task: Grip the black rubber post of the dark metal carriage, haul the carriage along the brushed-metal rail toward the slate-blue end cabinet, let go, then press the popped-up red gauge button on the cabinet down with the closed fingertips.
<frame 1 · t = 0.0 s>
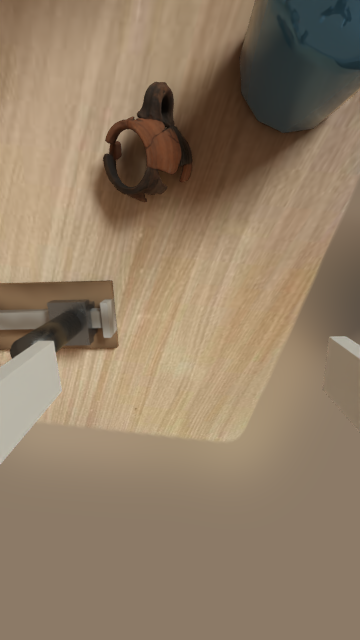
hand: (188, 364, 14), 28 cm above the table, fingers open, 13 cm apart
rail base: (30, 315, 43), on the table
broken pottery: (155, 155, 36), on the table
carriage: (57, 332, 35), point 8 cm above the table, slide at 0.0 cm
wine bottle: (294, 71, 33), on the table
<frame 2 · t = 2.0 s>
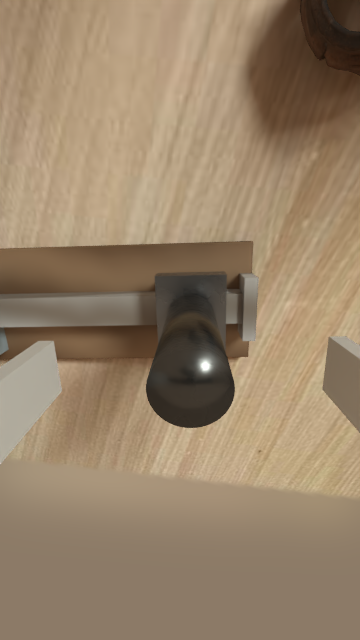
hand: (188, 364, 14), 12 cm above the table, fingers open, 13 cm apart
rail base: (102, 302, 26), on the table
carriage: (191, 331, 17), point 8 cm above the table, slide at 0.0 cm
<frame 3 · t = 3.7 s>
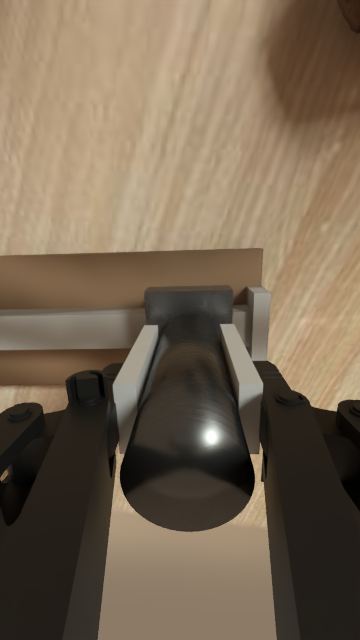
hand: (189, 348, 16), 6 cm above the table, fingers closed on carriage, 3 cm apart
rail base: (86, 319, 22), on the table
carriage: (188, 364, 14), point 8 cm above the table, slide at 0.0 cm, touching gripper
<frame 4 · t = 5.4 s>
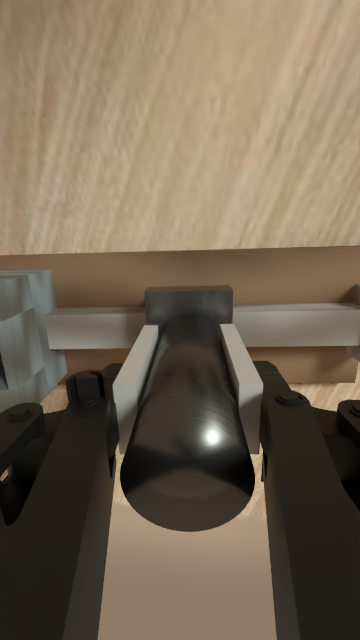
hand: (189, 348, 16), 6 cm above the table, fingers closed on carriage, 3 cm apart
rail base: (181, 318, 22), on the table
carriage: (189, 364, 14), point 8 cm above the table, slide at 7.4 cm, touching gripper
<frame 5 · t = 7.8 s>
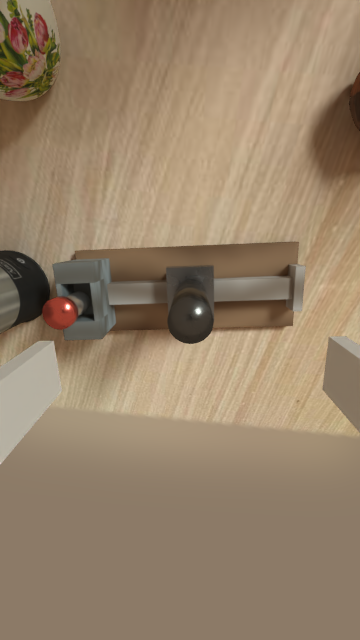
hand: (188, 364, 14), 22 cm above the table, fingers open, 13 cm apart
pitcher: (32, 52, 29), on the table
rail base: (186, 287, 35), on the table
gauge button: (69, 307, 27), point 9 cm above the table, slide at 0.0 cm
carriage: (190, 301, 27), point 8 cm above the table, slide at 7.5 cm
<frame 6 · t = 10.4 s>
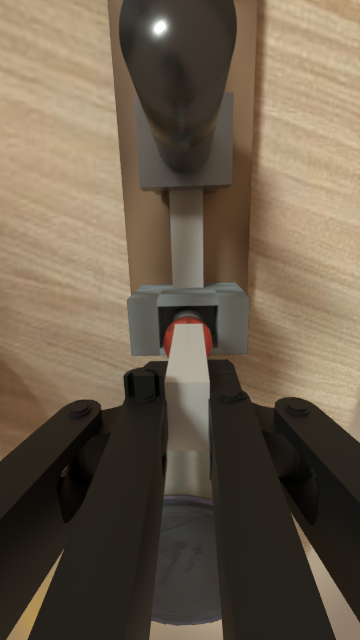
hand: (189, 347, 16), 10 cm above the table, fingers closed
rail base: (185, 169, 23), on the table
gauge button: (188, 330, 19), point 8 cm above the table, slide at -1.4 cm, touching gripper
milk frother: (206, 433, 30), on the table
carriage: (183, 122, 15), point 8 cm above the table, slide at 7.5 cm
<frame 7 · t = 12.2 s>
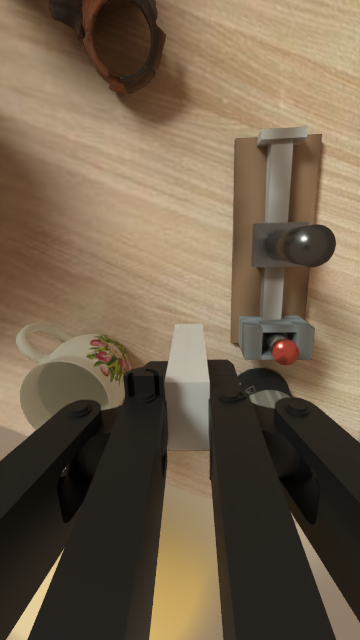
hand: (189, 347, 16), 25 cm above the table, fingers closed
pitcher: (99, 352, 44), on the table
rail base: (270, 248, 38), on the table
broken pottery: (118, 48, 33), on the table
gauge button: (279, 345, 34), point 7 cm above the table, slide at -1.6 cm
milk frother: (271, 413, 45), on the table
carriage: (289, 245, 30), point 8 cm above the table, slide at 7.5 cm
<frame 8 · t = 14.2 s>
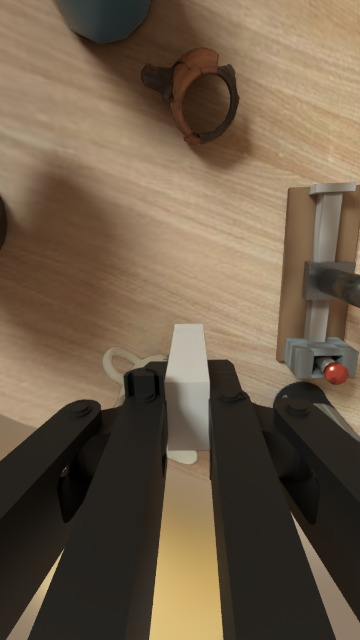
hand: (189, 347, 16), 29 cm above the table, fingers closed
pitcher: (157, 369, 49), on the table
rail base: (314, 280, 43), on the table
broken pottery: (191, 103, 38), on the table
gauge button: (328, 366, 39), point 7 cm above the table, slide at -1.6 cm
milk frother: (309, 420, 51), on the table
carriage: (342, 285, 35), point 8 cm above the table, slide at 7.5 cm
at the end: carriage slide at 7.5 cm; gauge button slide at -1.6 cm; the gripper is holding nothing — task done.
